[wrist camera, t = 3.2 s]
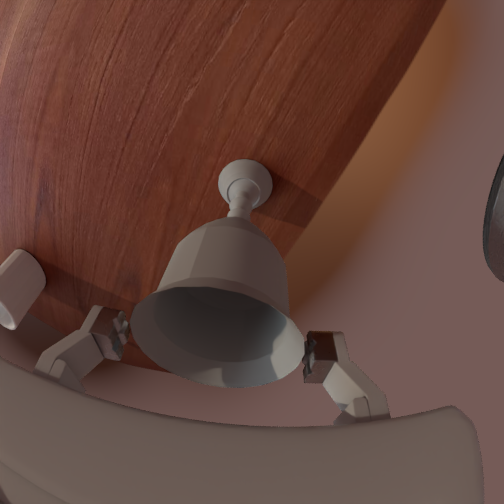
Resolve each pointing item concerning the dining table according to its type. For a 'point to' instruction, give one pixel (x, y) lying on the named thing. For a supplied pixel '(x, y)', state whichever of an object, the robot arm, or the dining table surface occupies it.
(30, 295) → the mug
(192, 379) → the chalice
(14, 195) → the dining table surface
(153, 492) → the robot arm
